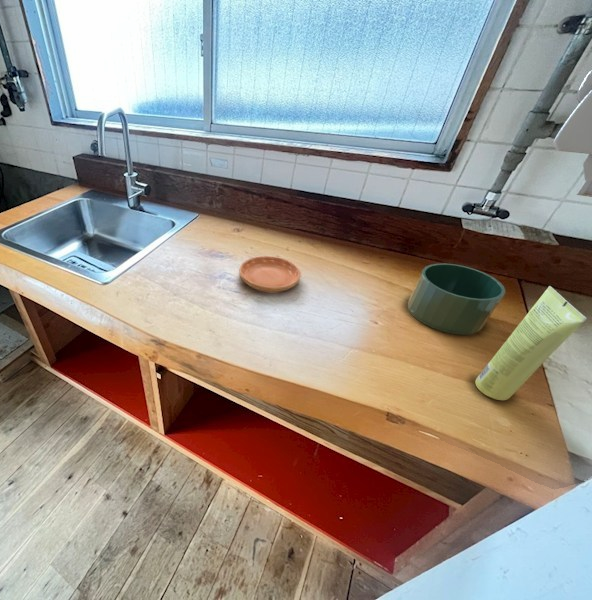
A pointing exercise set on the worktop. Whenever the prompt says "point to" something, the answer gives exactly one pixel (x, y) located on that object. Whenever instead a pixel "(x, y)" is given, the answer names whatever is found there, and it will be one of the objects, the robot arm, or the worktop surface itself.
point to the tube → (529, 345)
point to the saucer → (269, 273)
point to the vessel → (455, 298)
